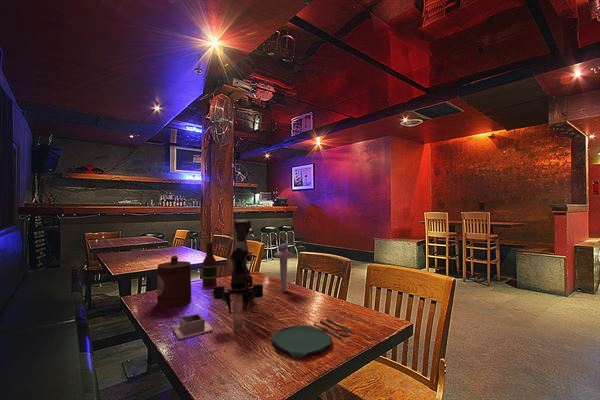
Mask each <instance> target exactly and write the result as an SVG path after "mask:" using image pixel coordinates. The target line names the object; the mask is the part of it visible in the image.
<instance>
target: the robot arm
mask: <svg viewBox="0 0 600 400" xmlns="http://www.w3.org/2000/svg"><path fill="white" fill-rule="evenodd" d="M233 229H234V230H235V233H236V244H234V245H233V247H232V251H231V252H230V256H229V257H230V261H231V267H232V266H233V273H232V278H231V277H230V278H231V280H230V288H225V285H218V286H217V285H214V287H213V289H212V294H213V299H214V300H221V301H223V302H225V304H226V306H227V310H228V312H229V313H228V314H229V315H231V314H232V306H231V305H232V304H231V295H237V294H240V295H243V302H245V303H244V314H246V313H247V311H248V309H249V306H250V304H251V302H252V301H253V300H255V299H256V298H262V297H264V286H263V284H261V283H260V284H259V283H258V284H254V283H253V277H252V275H251V274H250V270H249V268H248V264H247V262H249V261H248V260H250V259H251V257H252V254H251V252H250V251H249V247H248V244H247V243H248V236H249V235H250V232H251V229H252V221H250V219H247V218H245V219H241V218H239V219H236V220H235V221H233Z"/></svg>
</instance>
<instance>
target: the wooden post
mask: <svg viewBox="0 0 600 400" xmlns="http://www.w3.org/2000/svg"><path fill="white" fill-rule="evenodd" d="M243 302H244V301H243V295H240V294H233V296H232V330H233V332H241V331H243V329H244V327H243V326H244V325H243V323H244V322H243V321H244V318H243V317H244V315H243V314H244V312H243V311H244V310H243V308H244V307H243V306H244V303H243Z"/></svg>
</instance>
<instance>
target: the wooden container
mask: <svg viewBox="0 0 600 400" xmlns="http://www.w3.org/2000/svg"><path fill="white" fill-rule="evenodd" d="M191 264H192V263H191V261H182V260H180V261H179V256H177V255H173V256H171V257H170V261H168V262H162V263H160V264H157V277H156V278H157V283H156V284H157V285H156V287H157V288H156V290H157V291H156V292H157V299H156V301H157V306H158V305H159V306H158V307H160V306H162V307H161V308H165V307H171V308H177V307H178V308H179V307H181V306H186V305H187V304H189V303H191V301H192V272H191V270H192V269H191V268H192V267H191V266H192V265H191Z"/></svg>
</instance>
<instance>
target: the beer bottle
mask: <svg viewBox="0 0 600 400" xmlns="http://www.w3.org/2000/svg"><path fill="white" fill-rule="evenodd" d="M205 245H206V250H205V251H206V254H205V258H204V259H203V261H202V286H205V287H212V286H216V284H217V276H218V275H217V272H218V271H217V260H216V258H215V257H214V248H213V245H214V243H213V242H207V243H206V244H205Z"/></svg>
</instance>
